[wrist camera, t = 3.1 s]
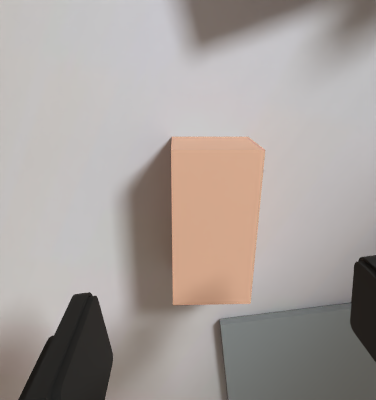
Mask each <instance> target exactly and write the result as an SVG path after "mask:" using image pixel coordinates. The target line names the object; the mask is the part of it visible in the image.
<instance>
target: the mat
mask: <svg viewBox="0 0 376 400" xmlns="http://www.w3.org/2000/svg"><path fill="white" fill-rule="evenodd" d="M350 314H351V303H346V304H338V305H330V306H322V307H314V308H306V309H298V310H290V311H282V312H274V313H266V314H258V315H249V316H241V317H233V318H225V319H220V328H221V338H222V347H223V357H224V366H225V376H226V385H227V395H228V400H376V362H375V361H374V359H373V358H372V357H371V355H370V354H369V353H368V351H367V350H366V348H365V347H364V346H363V344H362V343H361V342H360V340H359V339H358V337H357V336H356V335H355V333H354V332H353V330H352V328H351V325H350Z"/></svg>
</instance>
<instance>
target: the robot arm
mask: <svg viewBox="0 0 376 400" xmlns="http://www.w3.org/2000/svg"><path fill="white" fill-rule="evenodd" d="M350 325H351V328H352V330H353V332H354V333H355V335H356V336H357V337H358V339H359V340H360V342H361V343H362V344H363V346H364V347H365V348H366V350H367V351H368V353H369V354H370V355H371V357H372V358H373V359H374V361H375V362H376V255H374V256H366V257H361V258H360V259H359V261H358V262H356V263H355V265H354V276H353V289H352V301H351V314H350ZM112 362H113V353H112V349H111V345H110V342H109V338H108V334H107V331H106V327H105V323H104V320H103V316H102V312H101V308H100V305H99V301H98V298H97V296H92V294H91V293H90V292H89V293H82V294H75V295H73V297H72V299H71V301H70V303H69V305H68V307H67V309H66V311H65V314H64V316H63V318H62V320H61V322H60V324H59V326H58V329H57V331H56V333H55V335H54V336H51V337H50V338H49V339H48V340H47V342H46V344H45V346H44V348H43V350H42V352H41V354H40V356H39V358H38V360H37V363H36V365H35V367H34V369H33V371H32V373H31V375H30V377H29V379H28V381H27V383H26V385H25V387H24V389H23V391H22V393H21V395H20V397H19V399H18V400H105V396H106V391H107V386H108V382H109V377H110V372H111V368H112Z"/></svg>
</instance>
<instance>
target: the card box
mask: <svg viewBox="0 0 376 400" xmlns="http://www.w3.org/2000/svg"><path fill="white" fill-rule="evenodd" d="M264 157H265V149H263V148H262V147H261V146H259V145H258V144H257V143H255V142H254V141H253V140H251V139H250V138H249V137H172V142H171V191H172V274H173V305H205V304H250V303H251V292H252V282H253V272H254V261H255V251H256V240H257V230H258V219H259V209H260V199H261V188H262V178H263V167H264Z"/></svg>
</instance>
